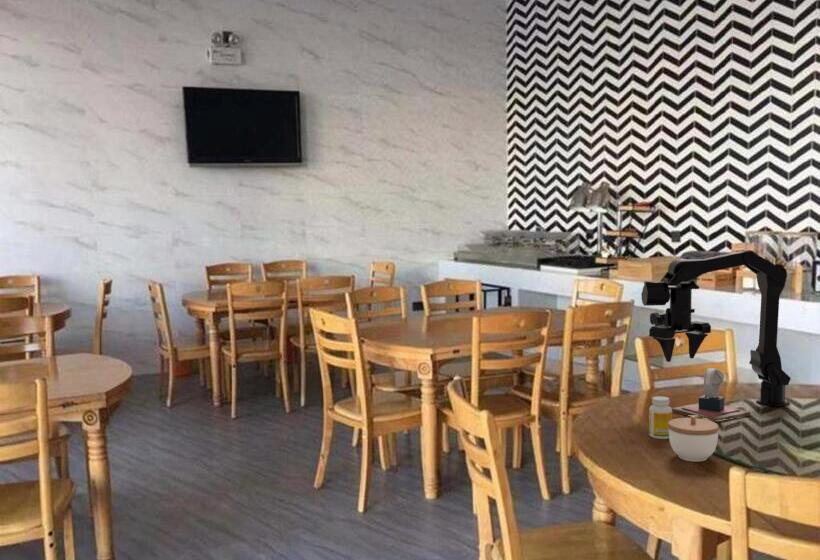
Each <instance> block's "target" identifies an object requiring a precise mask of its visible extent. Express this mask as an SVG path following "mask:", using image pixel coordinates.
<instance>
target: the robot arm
mask: <svg viewBox="0 0 820 560" xmlns="http://www.w3.org/2000/svg"><path fill="white" fill-rule="evenodd" d="M741 266H745V267H746V268H747V269H748V270H749V271H750V272H752V273H754V274H755V275H756V280H757V281H756V283H757V287H758V289H759V293H760V313H759V315H760V317H759V331H758V334H759V335H758V345H757V347H756V349H755V350H753V349H750V353H749V354H750V361H749V365H751V369H752V371H753V372H755V374H756V375H757V378H758V379H759V380H761V382H760V399H757V400H755V402H756V403H757V404H762V405H766V406H770V407H774V408H777V407H781V406H785V405H790V404H791V402H790V401H787V400H786V386H789V384H790V382H791V377H790V376H789V375H788V373H786V371H784V370H783V368H782V359H781V356H780V352H779V350H778V346H777V345H778V330H779V329H778V328H779V311H780V298H781V297H780V296H781V294H782V293H783V290H784V289H785V286H786V282H787V277H788V272H787V269H786V268H785V267H784V265H781V264H778V263H773V262H771V261H770V260H768V259H766V258H764V257H762V256H760V255H759V254H757V253H756V252H754V251H753V250H750V249H741V250H739V251H735V252H731V253H725V254H721V255H716V256H711V257H707V258H706V257H705V258H702V259H699V258H698V259H676V260H672V261H671V262H670V263H669V265H668V268H667V272H666V273H665V274H664V276H663V277H662V278H661V279H660V281H650V280H649V281H644V282H643V286H642V287H643V288H642V290H641V291H642V292H641V301H642V305H643V306H647V307H649V306H665V305H667V303H669V307H668V308H667V307H666V309H665V313H663V314H660V312H653V313H652V312H651V313H650V315H649V321H650V322H649V323H650V324H651V325H652V326H651V327H650V328H649V330H648V332H649V333H648V335H649V337H651V338H652V339H653V340H655V341H657V342H658V344H659V345H660V347H661V350H662V353H663V355H664V358H665V361H666V363H670V362H671V360H672V357H673V353H674V348H675V343H676V338H674V337H675V335H676V334H682V333H684V334H685V336H686V337H687V339H688V355H689V358H690V359H694V358H695V356H696V355H697V352H698V351H699V349H700V347H701V345H702V343H703V342H704V340H705V339H706V337H708V335H709V334H711V333H712V326H711V324H710V323H709V322H707V321H706V322H705V321H697V320H694V321H693V320H692V313H695V310H696V309H695V308H692V292H693V291H692V290H699V289H700V286H699V285H698V284H696V282H695V281H694V279H698V278H699V277H701V276H703V275H704V274H707V273H711V272H712V273H713V272H717V271H722V270H726V269H732V268H736V267H741Z"/></svg>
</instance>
